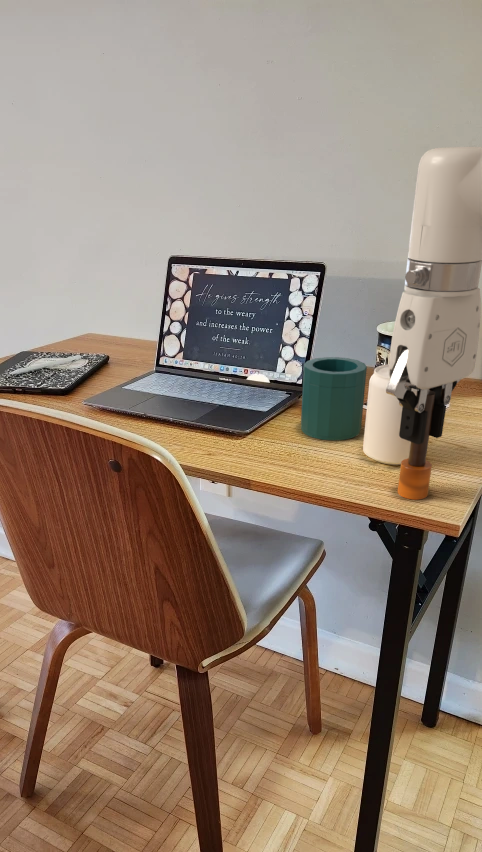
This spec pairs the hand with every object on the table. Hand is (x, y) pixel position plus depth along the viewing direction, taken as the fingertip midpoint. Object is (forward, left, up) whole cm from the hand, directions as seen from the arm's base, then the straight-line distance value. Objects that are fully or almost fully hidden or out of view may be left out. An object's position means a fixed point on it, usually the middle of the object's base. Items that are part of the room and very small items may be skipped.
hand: (420, 436), depth 82 cm
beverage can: (+5, -11, -8) cm, 14 cm away
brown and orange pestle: (0, 0, -8) cm, 8 cm away
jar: (+15, -17, -8) cm, 24 cm away
